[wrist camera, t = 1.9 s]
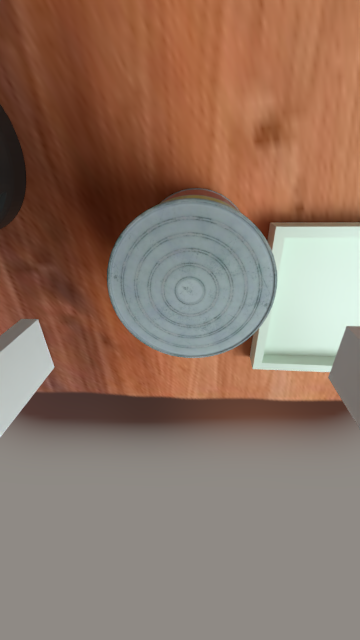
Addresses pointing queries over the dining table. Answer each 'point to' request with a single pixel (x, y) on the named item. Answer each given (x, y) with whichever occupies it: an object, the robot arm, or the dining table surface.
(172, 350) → the canned food
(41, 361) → the robot arm
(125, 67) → the dining table surface
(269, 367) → the tray
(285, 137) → the dining table surface
